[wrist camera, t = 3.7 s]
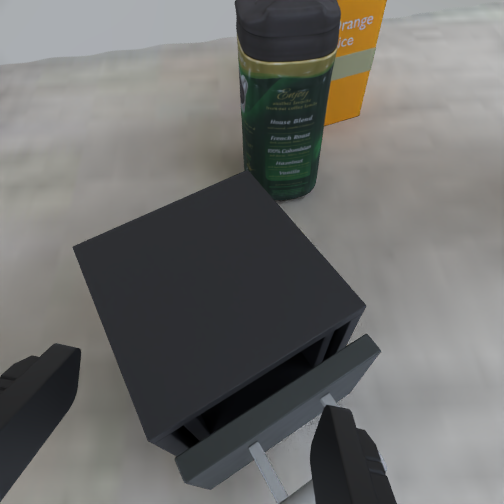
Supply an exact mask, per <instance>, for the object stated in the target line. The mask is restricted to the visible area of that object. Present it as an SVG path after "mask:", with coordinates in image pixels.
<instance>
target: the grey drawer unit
mask: <svg viewBox="0 0 504 504" xmlns="http://www.w3.org/2000/svg"><path fill="white" fill-rule="evenodd" d="M333 332H334V331H333ZM333 332H331V333H330V334H328V335H327V336H325V337H323V338H322V339H320V340H319V341H317V342H315V343H314V344H312V345H311V346H309V347H307V348H306V349H304V350H303V351H301V352H299V353H298V354H296V355H295V356H293V357H291V358H290V359H288V360H287V361H285V362H284V363H282V364H280V365H279V366H277V367H276V368H274V369H272V370H271V371H269V372H268V373H266V374H264V375H263V376H261V377H260V378H258V379H256V380H255V381H253V382H252V383H250V384H248V385H247V386H245V387H244V388H242V389H240V390H239V391H237V392H236V393H234V394H232V395H231V396H229V397H228V398H226V399H224V400H223V401H221V402H220V403H218V404H216V405H215V406H213V407H212V408H210V409H208V410H207V411H205V412H204V413H202V414H201V415H199V416H197V417H196V418H194V419H193V420H191V421H189V422H188V423H186V424H185V425H184V426H185V427H186V428H187V429H188V430H189V431H190V432H191V433H192V434H193V435H194V436H195V437H196V438H197V439H198V440H199V441H200V442H198V443H197V444H195V445H194V446H192V447H191V448H189V449H187V450H186V451H184V452H183V453H181V454H180V455H178V456H177V457H176V458H175V462H176V464H177V466H178V469H179V471H180V474H181V476H182V478H183V481H184V483H186V484H190V485H193V486H197V487H201V488H205V489H209V490H211V489H213V488H214V487H215V486H217V485H218V484H220V483H221V482H223V481H224V480H225V479H227V478H228V477H230V476H231V475H233V474H234V473H236V472H237V471H238V470H240V469H241V468H243V467H244V466H246V465H247V464H249V463H250V462H251V461H253V460H255V462H256V464H257V466H258V468H259V470H260V472H261V474H262V475H263V477H264V479H265V481H266V483H267V485H268V487H269V489H270V491H271V493H272V494H273V496H274V498H275V500H276V502H277V503H278V504H316V503H315V495H314V488H313V480H310V481H309V482H308V483H306V484H305V485H304V486H302V487H301V488H300V489H298V490H297V491H296V492H294V493H293V494H292V495H290V496H289V497H288V495H287V493H286V491H285V489H284V487H283V485H282V484H281V482H280V480H279V478H278V476H277V475H276V473H275V471H274V469H273V467H272V465H271V464H270V462H269V460H268V458H267V456H266V454H265V453H264V452H266V451H267V450H269V449H270V448H272V447H273V446H274V445H276V444H277V443H279V442H280V441H282V440H283V439H284V438H286V437H287V436H289V435H290V434H292V433H293V432H295V431H296V430H297V429H299V428H300V427H302V426H303V425H305V424H306V423H308V422H309V421H310V420H312V419H313V418H315V417H316V416H318V415H319V414H320V413H322V412H323V409H324V407H325V406H326V405H332V406H336V407H339V406H338V404H337V403H336V402H338V401H339V400H341V399H342V398H343V397H345V396H346V395H348V394H349V393H350V392H351V391H352V389H353V388H354V387H355V385H356V384H357V383H358V381H359V380H360V379H361V377H362V376H363V375H364V373H365V372H366V371H367V369H368V368H369V367H370V365H371V364H372V363H373V361H374V360H375V359H376V357H377V356H378V355H379V353H380V352H381V350H380V349H379V347H378V346H377V345H376V344H375V343H374V341H373V340H372V339H371V338H370V337H369V335H368V334H365V335H363V336H362V337H360V338H359V339H357V340H355V341H354V342H352V343H351V344H349V345H348V346H346V347H345V348H343V349H342V350H340V351H339V352H337V353H335V354H334V355H332V356H331V357H329V358H328V359H326V360H325V361H323V358H324V355H325V353H326V350H327V348H328V345H329V343H330V340H331V338H332V335H333ZM322 361H323V362H322ZM378 452H379V451H378ZM379 455H380V458H381V463H382V464H383V467H384V469H385V471H386V470H387V466H386V463H385V461H384V459H383V457H382V456H381V454H380V453H379Z"/></svg>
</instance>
